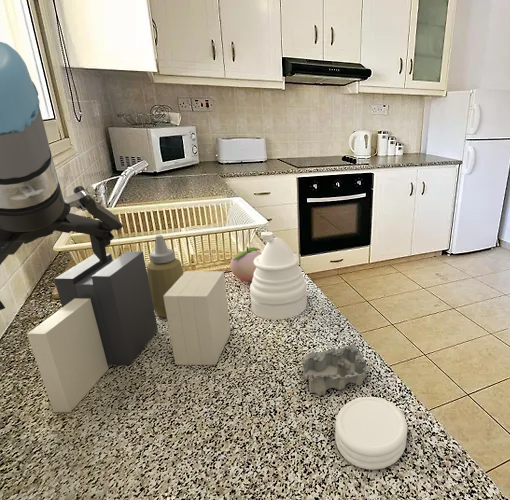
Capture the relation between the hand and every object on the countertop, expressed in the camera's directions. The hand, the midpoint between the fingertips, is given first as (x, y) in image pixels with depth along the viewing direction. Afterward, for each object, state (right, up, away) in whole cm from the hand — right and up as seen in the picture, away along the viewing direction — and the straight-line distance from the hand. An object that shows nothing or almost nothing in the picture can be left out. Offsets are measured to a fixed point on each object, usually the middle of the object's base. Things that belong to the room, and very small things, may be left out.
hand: (52, 277), depth 56 cm
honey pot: (+28, -9, +32) cm, 43 cm away
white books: (+17, -15, +16) cm, 27 cm away
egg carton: (+42, -18, +9) cm, 47 cm away
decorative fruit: (+18, -4, +43) cm, 47 cm away
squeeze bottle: (+5, -10, +28) cm, 30 cm away
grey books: (+1, -14, +16) cm, 21 cm away
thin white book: (+1, -19, +5) cm, 19 cm away
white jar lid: (+47, -23, -3) cm, 53 cm away
